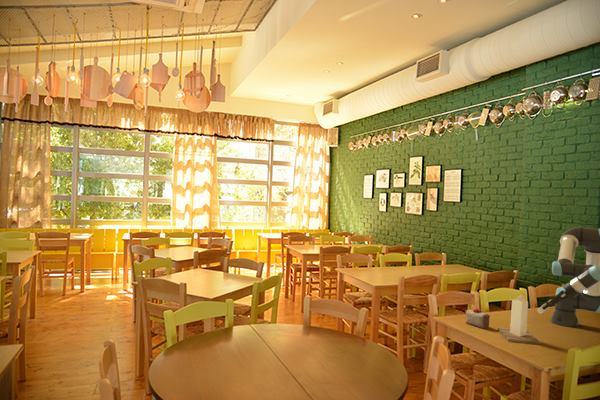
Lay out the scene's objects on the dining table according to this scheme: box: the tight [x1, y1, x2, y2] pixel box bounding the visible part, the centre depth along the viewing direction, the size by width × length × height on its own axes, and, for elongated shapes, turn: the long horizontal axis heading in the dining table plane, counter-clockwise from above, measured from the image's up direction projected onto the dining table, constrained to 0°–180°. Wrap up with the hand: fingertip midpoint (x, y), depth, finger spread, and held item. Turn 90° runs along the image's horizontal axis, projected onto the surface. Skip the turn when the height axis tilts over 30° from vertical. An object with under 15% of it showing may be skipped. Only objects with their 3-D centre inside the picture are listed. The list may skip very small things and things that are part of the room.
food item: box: [465, 308, 491, 329], centre depth 262 cm, size 14×8×10 cm, turn 33°
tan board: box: [497, 327, 541, 346], centre depth 243 cm, size 20×16×2 cm
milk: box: [509, 294, 529, 337], centre depth 243 cm, size 6×6×22 cm
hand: (540, 309), depth 236 cm, fingers open, 13 cm apart
